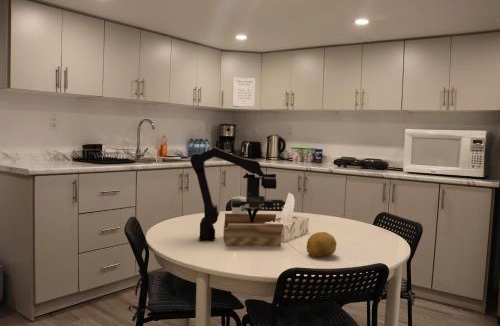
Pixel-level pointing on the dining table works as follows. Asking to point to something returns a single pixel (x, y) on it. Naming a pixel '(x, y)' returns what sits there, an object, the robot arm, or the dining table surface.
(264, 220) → the far flap
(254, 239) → the carton
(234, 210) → the syrup box
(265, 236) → the near flap
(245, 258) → the dining table surface
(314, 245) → the potato
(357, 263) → the dining table surface
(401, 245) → the dining table surface
